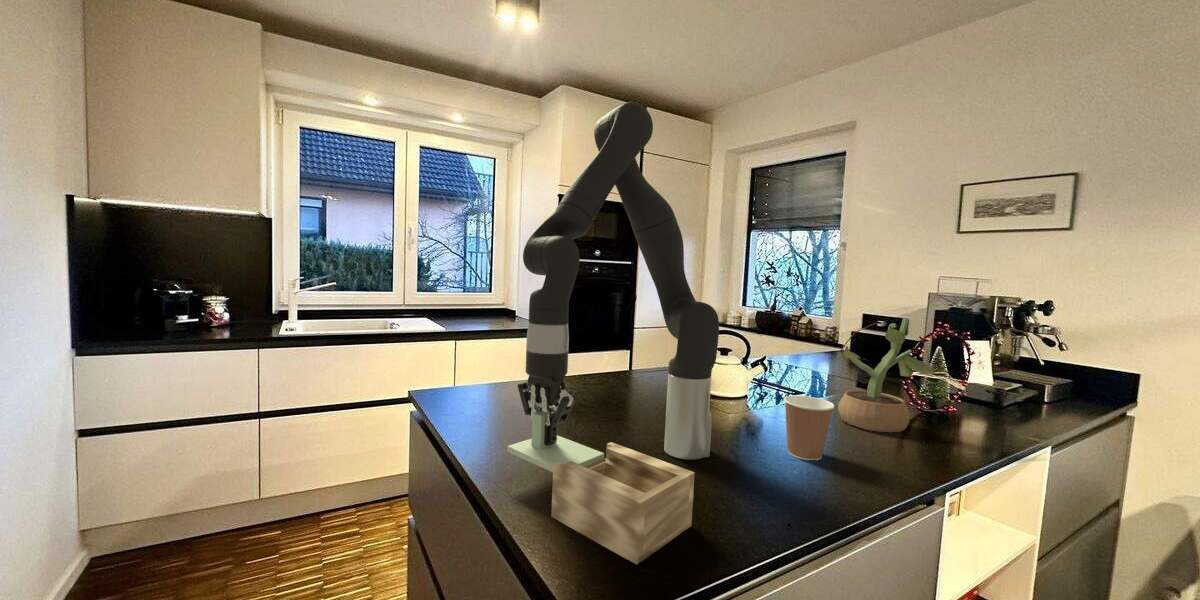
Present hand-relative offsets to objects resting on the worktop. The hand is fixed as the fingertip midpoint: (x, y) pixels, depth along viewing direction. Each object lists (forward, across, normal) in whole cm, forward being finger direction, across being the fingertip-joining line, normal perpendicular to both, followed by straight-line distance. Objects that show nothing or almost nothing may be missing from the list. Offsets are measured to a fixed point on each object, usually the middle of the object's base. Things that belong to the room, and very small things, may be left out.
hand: (544, 441), depth 87 cm
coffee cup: (+8, -30, -51) cm, 60 cm away
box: (+8, -18, 0) cm, 20 cm away
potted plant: (+8, -37, -87) cm, 95 cm away
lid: (+2, -3, 0) cm, 3 cm away
